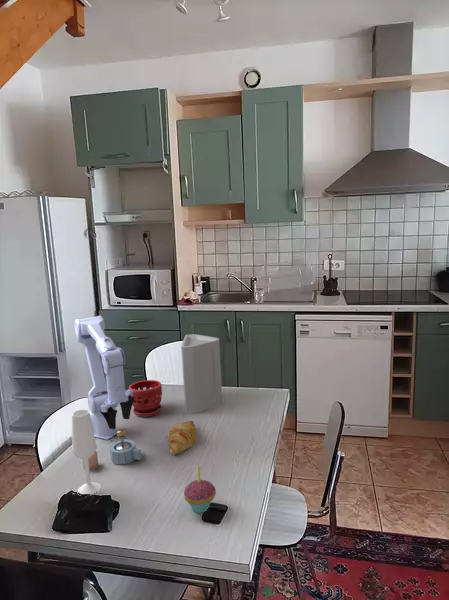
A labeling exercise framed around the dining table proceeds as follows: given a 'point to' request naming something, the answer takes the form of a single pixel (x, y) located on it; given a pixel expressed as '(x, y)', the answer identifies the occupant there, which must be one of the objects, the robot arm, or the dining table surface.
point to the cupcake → (199, 494)
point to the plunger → (122, 440)
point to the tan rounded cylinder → (92, 461)
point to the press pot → (124, 453)
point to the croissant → (181, 437)
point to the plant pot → (146, 397)
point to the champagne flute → (84, 446)
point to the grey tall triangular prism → (201, 373)
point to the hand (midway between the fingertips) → (119, 423)
